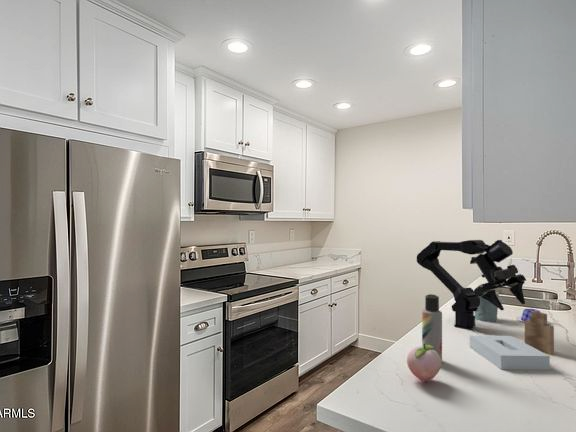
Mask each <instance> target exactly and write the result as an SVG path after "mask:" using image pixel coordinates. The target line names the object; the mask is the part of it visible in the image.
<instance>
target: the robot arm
mask: <svg viewBox="0 0 576 432" xmlns="http://www.w3.org/2000/svg"><path fill="white" fill-rule="evenodd" d="M441 251H448V252H450V251H453V252H461V253H463V254H467V255H471V259H470V261H469V264H470V265H474V264H476V266H477V267H478V268H479V270H480V271H481V273H482V274H481V275H480V276H481V277H482V278H485V279H486V281H487V282H485V283H482V284H480V285H478V286H477V287H475V288H474V289H473V288H472V287H469V286H468V287H463V286H462V285H461V284H460V283H459V282H458V281H457V279H455V278H454V277H453V276H452V275H451V274H450V273H449V272H448V271H447V270H446V269H445V268H444V267H443V266H442V265H441V264H440V261H439V257H440V254H441ZM513 252H514V251H513V250H512V248H511V246H509V245H508V244H507V243H505V242H503V241H502V239H497V240H496V241H494V243H492V244H490V245H489V244H486V242H485V241H484V240H483V239H469V240H463V241H440V240H439V241H438V240H433V241H431V242H430V243H429V244H428V245H427V246H426V247H424V248H423V249H422V250H420V252H418V254H417V255H416V263H417V264H418V265H419V266H421V267H422V268H424V269H426V270H428V271H430V272H431V273H432V274H433V275H434V276H435V278H437V279H438V280H439V281H440V282H441V283H442V285H444V287H446V288H447V290H449V291H450V292H451V294H452V295H453V300H454V303H453V304H452V305H451V309H452V312H454V315H455V318H454V319H455V322H454V323H455V324H454V325H453V327H456V328H462V329H466V330H473V329H474V327H476V319H475V313H474V311H477V308H478V307H479V305H480V298H479V296H481V298H484V299H486V300H487V301H489V302H490V303H492V304H493V305H495V306H496V307H497V308H498V310H500V311H504V310H505V308H504V306H503V304H502V303H501V301H500V299H499V297H498V298H497V296H496V292H497V291H496V290H497V289H500V288H504V287H505V288H506V287H508V288H509V289H508V290H509V291H510V292H511V294H512V295H513V296H514V297H515V298H516V299H517V301H519V302H520V303H521V305H525V304H526V299H525V297H524V293H523V286H524V285H525V284H526V283H525V281H527V279H526V277H525V275H523V274H521V273H520V274H518V273H519V269H518V268H517V266H516V265H515V264H511V265H507V266H506V268H504V269H503V267H501V266H497V264H496V263H498V264H499V263H501V262H502V261H504V260H505V259H508V258H509V257H510V256H512V255H513ZM472 255H477V256H472ZM495 262H496V263H495Z"/></svg>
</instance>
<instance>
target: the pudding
mask: <svg viewBox="0 0 576 432" xmlns="http://www.w3.org/2000/svg"><path fill="white" fill-rule="evenodd" d="M532 311H536V312H541V310H538V309H534V308H525V309H523V310H522V313H521V316H517V317H515V320H516V321H519V322H522V323H525V320H531V312H532ZM547 325H550V321H549V320H547Z"/></svg>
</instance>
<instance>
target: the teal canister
mask: <svg viewBox="0 0 576 432" xmlns="http://www.w3.org/2000/svg"><path fill="white" fill-rule="evenodd" d="M499 295H500V293H499V292H498V291H496V296H497V298H498V299H499ZM479 298H480V305H479V307H478V308H477V311H474V316H475V320H477V321H481V322H487V323H488V322H489V323H496V322H497V321H498V310H499V308H497V307H496V306H495V305H493V304H492V303H490V302H489V301H487V300H486V299H484V298H481V296H479Z"/></svg>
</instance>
